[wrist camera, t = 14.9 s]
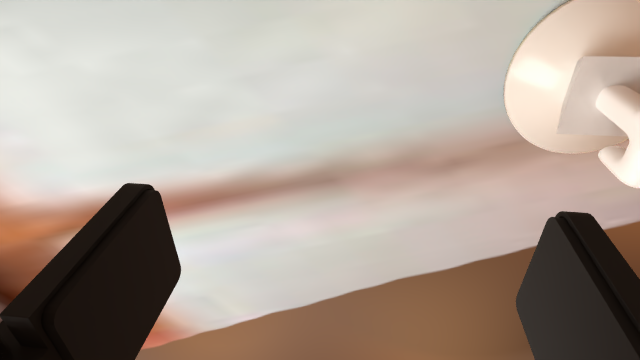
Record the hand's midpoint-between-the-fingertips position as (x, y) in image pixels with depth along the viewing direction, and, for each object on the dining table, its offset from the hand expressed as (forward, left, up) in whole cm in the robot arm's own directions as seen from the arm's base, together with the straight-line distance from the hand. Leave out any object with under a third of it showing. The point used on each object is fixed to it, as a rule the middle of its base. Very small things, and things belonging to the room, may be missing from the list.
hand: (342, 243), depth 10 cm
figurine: (+6, +22, -32) cm, 39 cm away
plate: (+6, +22, -33) cm, 40 cm away
